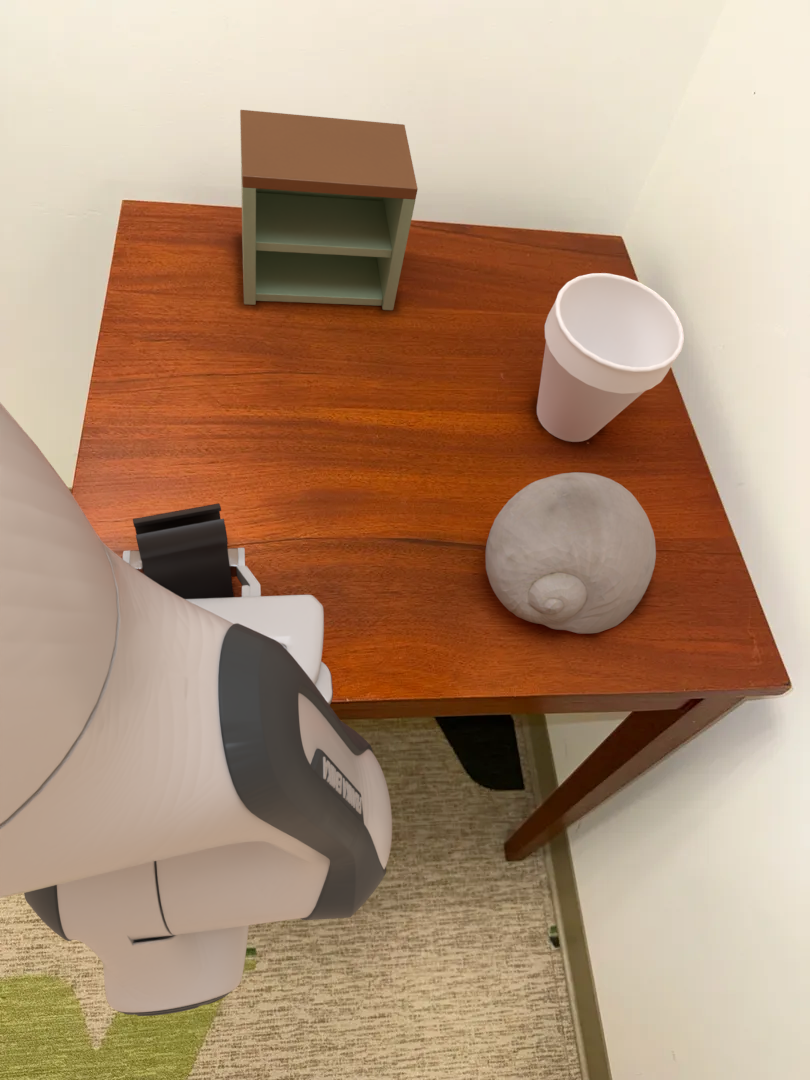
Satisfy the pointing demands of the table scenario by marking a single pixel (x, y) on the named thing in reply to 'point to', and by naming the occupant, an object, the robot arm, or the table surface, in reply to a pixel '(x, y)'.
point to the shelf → (324, 208)
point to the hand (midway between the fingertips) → (185, 552)
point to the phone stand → (186, 552)
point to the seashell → (571, 553)
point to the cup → (603, 352)
